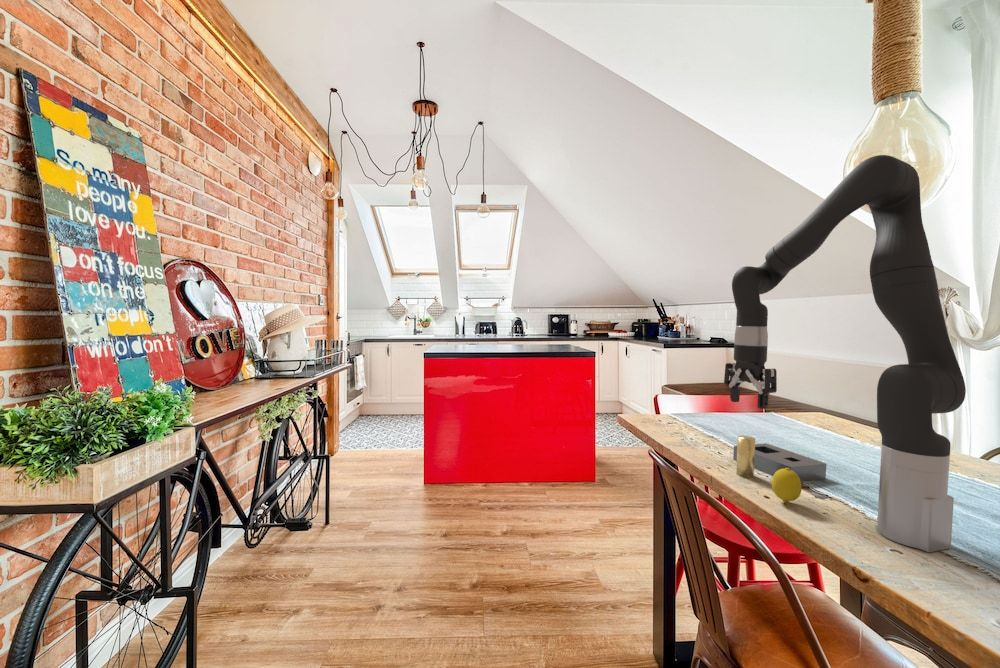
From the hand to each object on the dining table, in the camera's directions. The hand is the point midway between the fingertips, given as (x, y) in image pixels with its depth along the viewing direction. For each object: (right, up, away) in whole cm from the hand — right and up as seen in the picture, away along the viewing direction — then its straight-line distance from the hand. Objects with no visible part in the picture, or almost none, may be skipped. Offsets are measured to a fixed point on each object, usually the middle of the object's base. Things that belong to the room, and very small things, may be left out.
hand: (747, 405), depth 111 cm
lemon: (-1, -20, -16) cm, 25 cm away
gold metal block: (0, -19, +1) cm, 19 cm away
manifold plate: (+12, -19, +6) cm, 23 cm away
